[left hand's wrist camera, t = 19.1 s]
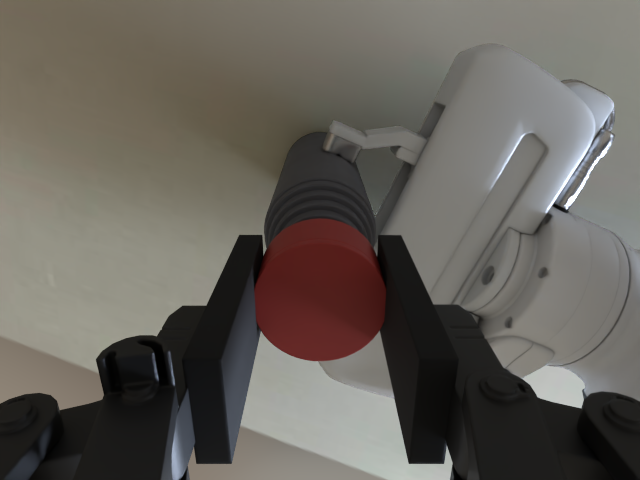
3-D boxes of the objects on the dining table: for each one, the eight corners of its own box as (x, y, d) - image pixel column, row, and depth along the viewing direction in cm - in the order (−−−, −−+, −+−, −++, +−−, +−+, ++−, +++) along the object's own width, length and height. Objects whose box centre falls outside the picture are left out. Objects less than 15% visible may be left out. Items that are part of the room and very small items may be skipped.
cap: (256, 218, 14) (246, 244, 12) (381, 216, 14) (391, 241, 12) (265, 324, 16) (257, 362, 14) (377, 323, 16) (385, 361, 14)
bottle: (308, 212, 31) (295, 378, 15) (272, 155, 29) (213, 269, 13) (367, 179, 30) (422, 317, 14) (332, 118, 29) (350, 192, 12)
